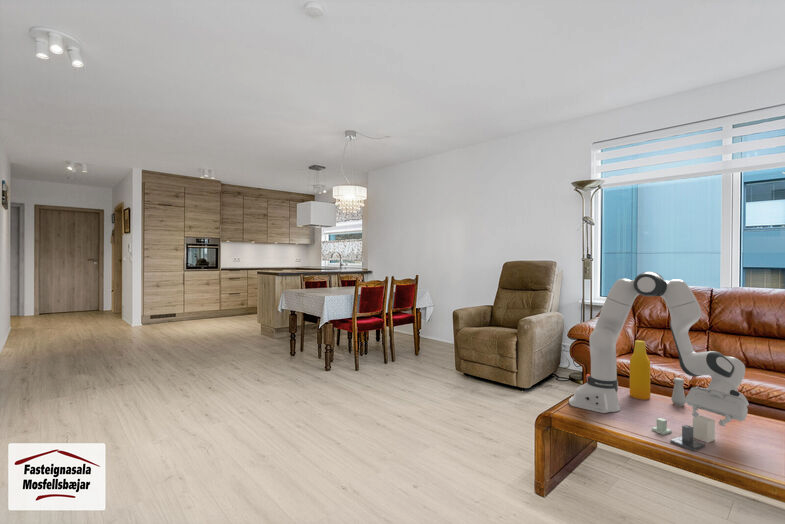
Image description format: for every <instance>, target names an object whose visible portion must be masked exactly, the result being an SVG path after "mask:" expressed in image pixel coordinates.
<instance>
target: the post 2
mask: <svg viewBox="0 0 785 524" xmlns="http://www.w3.org/2000/svg"><path fill="white" fill-rule="evenodd" d="M670 443H671V444H674V445H676V446H678V447H681V448H684V449H686V448H687V450H689V449H690V450H689V451H691V450H692V452H695V451H698V450H700V449H703V448H706V444H705V443H703V442H701V441H698V440H696V439H694V438H693V426H691V425H687V424H684V425H682V426H681V436H677V437H674V438H672V439H670Z"/></svg>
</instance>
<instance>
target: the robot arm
mask: <svg viewBox="0 0 785 524" xmlns="http://www.w3.org/2000/svg"><path fill="white" fill-rule="evenodd" d="M640 295H641V296H642V297H650V298H651V297H661V298H662V300H663V301H664V303H665V304H666V306H667V309H668V311H669V315H670V321H669V327H670V331H671V335H672V338H673V341H674V345H675V347H676V351H677V355H678V361H679V362H678V363H679V366H680V368H681V370H682V371H683V372H684V373H685V374H686V375H687V376H690V377H702V376H710V377H711V380H710V382H709V384H708V386H707V387H706V388H704V387H701V386H694V387H691V388H690V389H689V392H688V393H687V395H685V401H686V403H685V404H687V406H689V407H691V409H692V412H691V415H692V418H693V417H697V416H700V414H699V412H698V411H699V410H702V411H705V412H708V413H713V414H715V415H718V416H722V417H725V418H723V419H719V421H718V425H719V426H722V427H726V424H728V423H730V422H732V420H735V421H739V422H743V421H745V420H746V418H747V416H748V412H749V411H748V410H749V409H748V407H749V404H750V403H749V401H748V399H747V397H746V396H745V395H744V393H742V392H740V391H738V388H739V387H740V386H741V384H742V381H743V380H744V378H745V374H746V365H745V363H744V362H742V360H740V359H739V358H736V357H733V356H729V355H728V356H727V355H724V354H722V353H721V352H719V351H716V350H712V351H701V352H699V351H698V352H696V351H695V350H694V348H693V345H692V341H691V338H690V336H689V331H690V328H691V327H692V326H693V325H695V324H696V323H697V322H699V320H700V318H701V316H702V308H701V306H700V304H699V301H698V300H697V297H696V296H695V295H694V292H693V290H691V288H690V286H689V285H688V284H687V283H686V282H685V281H684V280H682V279H670V280H665V279H664V278H663V276H662V275H661V274H659V273H657V272H654V271H644V272H642V273H639V274H637V276H636V277H635V278H634V279H628V278H618V279H617V280H616V281H615V282H614V284H613V285H612V287H611V288H610V290H609V291H608V294H607V296H606V298H605V301H604V303H603V306H602V307H601V310H600V313H599V317H598V319H597V321H596V324H595V326H594V329H593V330H592V331H591V333H590V334H589V339H588V340H589V353H590V374H589V373H588V374H586V375H585V378H586V382H585V383H584V384H582V385H580V386H578V387H577V388H576V389H575V390H574V394H573V395H572V396H571V398H570V397H569V400H568V404H569V405H570V406H571V407H575V408H580V409H584V410H589V411H592V412H597V413H601V414H606V413H615V412H619V411H620V410H621V406H620V403H619V396H618V391H619V390H618V389H619V381H618V378H617V377H618V376H617V375H618V374H617V371H618V370H617V368H618V367H617V366H618V365H617V364H618V363H617V350H616V349H617V347H616V346H617V345H616V344H617V342H618V339H619V337H620V334H621V332H622V330H623V327H624V325H625V323H626V321H627V318H628V316H629V314H630V311H631V309H632V307H633V305H634V302H635V300H636V298H637V297H638V296H640Z"/></svg>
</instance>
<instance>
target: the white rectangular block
mask: <svg viewBox="0 0 785 524" xmlns="http://www.w3.org/2000/svg"><path fill="white" fill-rule="evenodd" d="M692 427H693V439H695V440H697V441H698V440H699V441H700V442H701V441H702V442H705V443H707V444H708V443H710V442H713V441H715V440H716V439H715V438H716V435H715V434H716V431H715V430H716V420H715V419H712V418H710V417H706V416H703V415H700V414H699V416H697V417H693V416H692Z"/></svg>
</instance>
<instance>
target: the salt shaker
mask: <svg viewBox="0 0 785 524" xmlns="http://www.w3.org/2000/svg"><path fill="white" fill-rule="evenodd" d="M673 383H674V386H673V390H672V395H671V402H672V403H673V405H674V406H677V407H685V406H684V405H685V404H687V403H686V401H685V397H686V394H685V391H684V390H685V389H684V384H685V380H684V378H681V377H674V378H673Z"/></svg>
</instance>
